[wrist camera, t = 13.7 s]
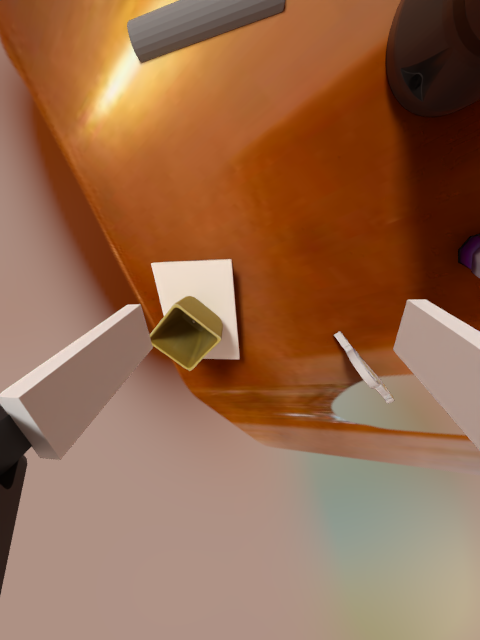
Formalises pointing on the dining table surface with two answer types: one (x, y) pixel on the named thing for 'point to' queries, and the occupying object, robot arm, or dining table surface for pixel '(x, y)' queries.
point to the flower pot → (187, 332)
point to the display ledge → (202, 295)
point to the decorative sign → (364, 369)
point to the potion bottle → (471, 254)
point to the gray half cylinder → (193, 23)
